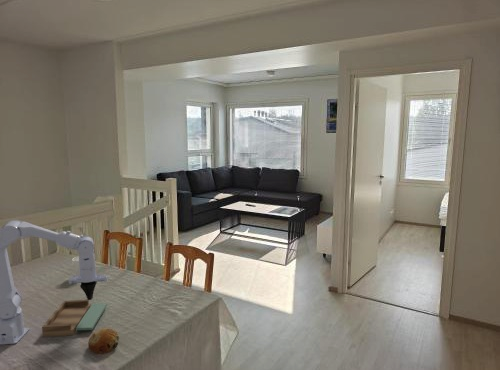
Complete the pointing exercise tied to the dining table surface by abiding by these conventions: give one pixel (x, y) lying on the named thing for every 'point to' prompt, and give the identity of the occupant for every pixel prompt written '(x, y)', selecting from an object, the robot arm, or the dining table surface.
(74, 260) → the white cup
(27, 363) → the dining table surface
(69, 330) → the tray
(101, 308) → the panel
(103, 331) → the bread roll
